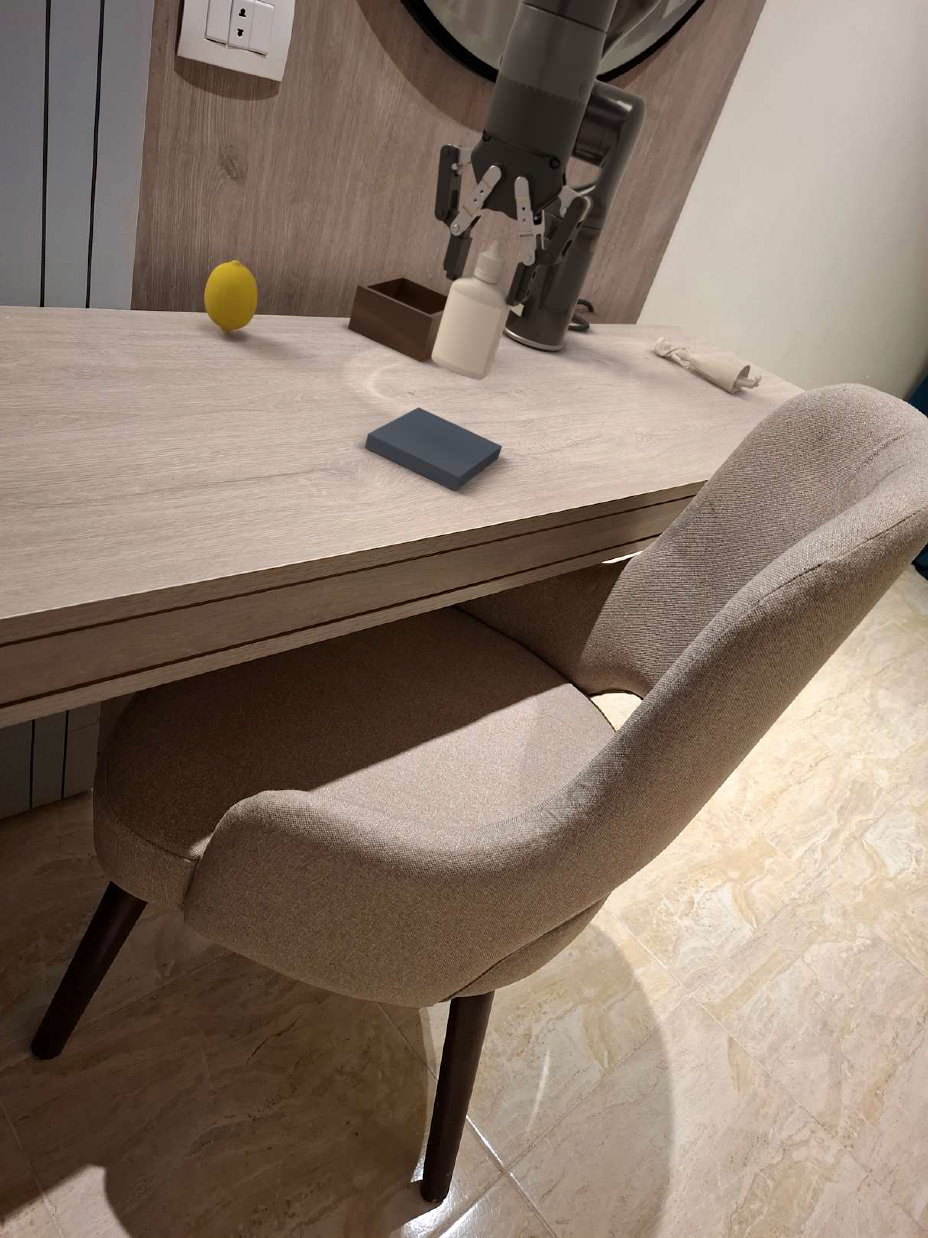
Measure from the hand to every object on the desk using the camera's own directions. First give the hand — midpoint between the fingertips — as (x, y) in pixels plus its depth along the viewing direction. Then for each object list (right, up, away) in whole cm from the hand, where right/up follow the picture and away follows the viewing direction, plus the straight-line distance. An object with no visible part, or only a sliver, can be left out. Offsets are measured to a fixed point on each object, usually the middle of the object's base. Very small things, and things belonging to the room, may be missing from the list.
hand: (482, 290), depth 81 cm
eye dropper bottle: (-2, -6, +4) cm, 8 cm away
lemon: (-28, +2, +19) cm, 34 cm away
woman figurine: (+36, +9, +62) cm, 72 cm away
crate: (-9, +7, +35) cm, 37 cm away
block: (-5, -13, +9) cm, 16 cm away
